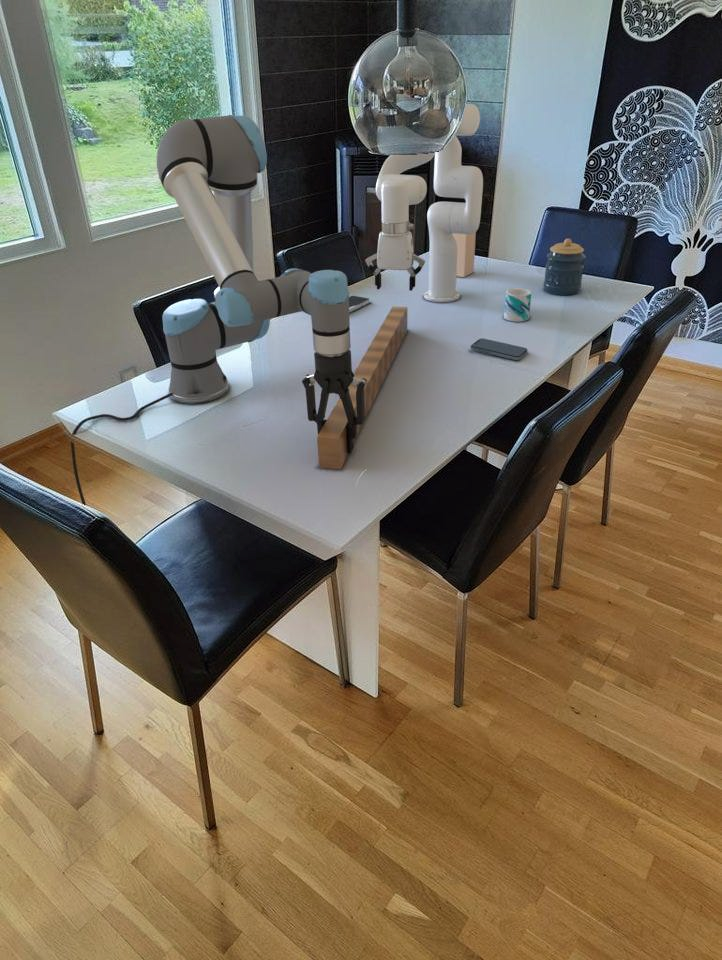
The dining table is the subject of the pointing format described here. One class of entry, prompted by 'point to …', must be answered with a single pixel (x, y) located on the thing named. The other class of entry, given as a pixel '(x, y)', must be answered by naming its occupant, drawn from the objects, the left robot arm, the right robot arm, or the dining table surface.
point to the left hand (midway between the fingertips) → (338, 449)
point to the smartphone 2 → (499, 349)
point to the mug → (517, 304)
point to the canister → (564, 268)
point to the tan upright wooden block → (465, 253)
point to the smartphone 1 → (357, 302)
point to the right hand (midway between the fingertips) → (395, 288)
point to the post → (374, 372)
